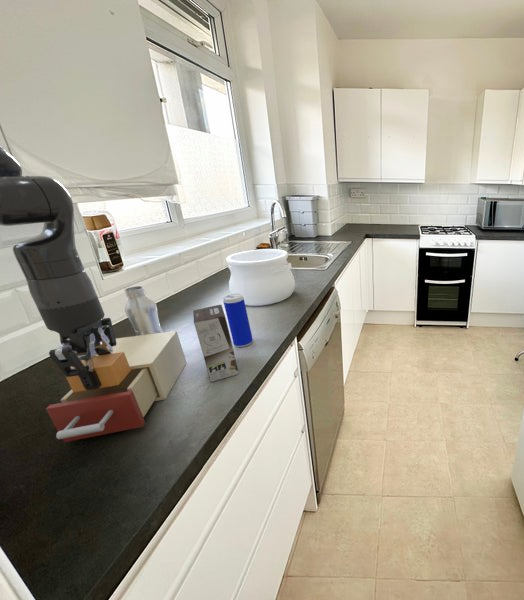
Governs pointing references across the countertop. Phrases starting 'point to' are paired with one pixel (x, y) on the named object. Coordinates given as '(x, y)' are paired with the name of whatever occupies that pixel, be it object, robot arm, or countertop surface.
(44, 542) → the countertop surface
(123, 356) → the orange rectangular block
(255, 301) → the pot
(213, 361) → the coffee box
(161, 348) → the cabinet
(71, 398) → the drawer
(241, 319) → the beverage can
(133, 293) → the plastic bottle
